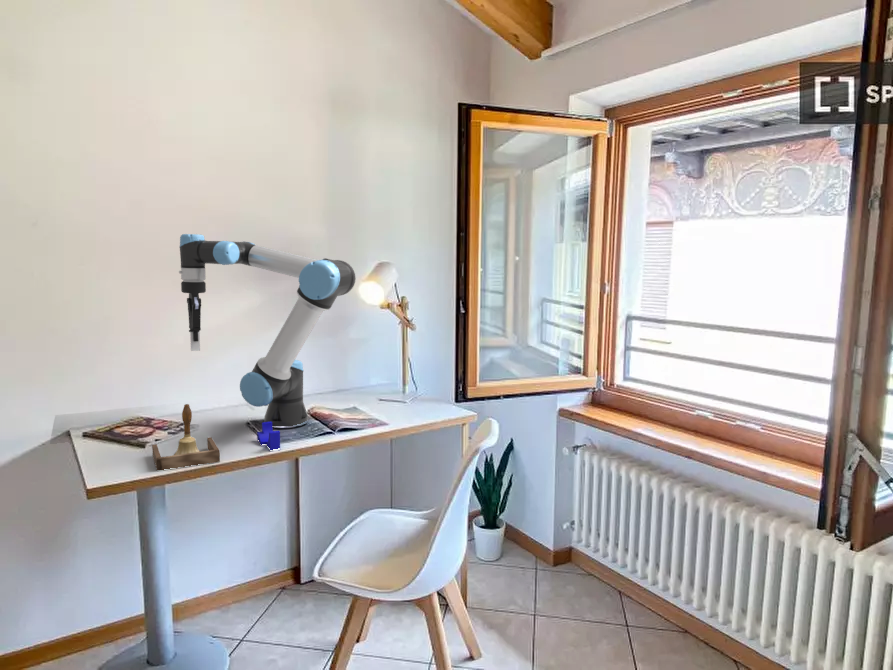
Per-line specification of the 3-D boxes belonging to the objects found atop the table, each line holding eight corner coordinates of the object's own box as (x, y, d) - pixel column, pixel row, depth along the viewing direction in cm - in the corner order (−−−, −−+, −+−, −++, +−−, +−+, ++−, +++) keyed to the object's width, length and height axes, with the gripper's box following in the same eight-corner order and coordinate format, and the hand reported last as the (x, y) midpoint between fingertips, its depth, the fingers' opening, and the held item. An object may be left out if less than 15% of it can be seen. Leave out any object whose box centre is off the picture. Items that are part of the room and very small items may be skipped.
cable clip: (257, 441, 190) (257, 423, 189) (271, 439, 192) (271, 421, 191) (265, 452, 180) (265, 433, 179) (280, 450, 182) (280, 432, 181)
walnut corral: (211, 448, 181) (211, 437, 181) (219, 461, 170) (219, 450, 170) (152, 456, 173) (152, 444, 172) (157, 471, 162) (156, 459, 161)
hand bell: (206, 451, 178) (204, 400, 176) (198, 461, 170) (196, 408, 168) (177, 452, 177) (175, 400, 175) (167, 462, 169) (166, 408, 167)
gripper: (178, 279, 200) (180, 347, 203) (183, 282, 189) (186, 354, 192) (202, 279, 203) (204, 346, 207) (208, 282, 192) (210, 352, 196)
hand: (195, 350), depth 199 cm, fingers closed
